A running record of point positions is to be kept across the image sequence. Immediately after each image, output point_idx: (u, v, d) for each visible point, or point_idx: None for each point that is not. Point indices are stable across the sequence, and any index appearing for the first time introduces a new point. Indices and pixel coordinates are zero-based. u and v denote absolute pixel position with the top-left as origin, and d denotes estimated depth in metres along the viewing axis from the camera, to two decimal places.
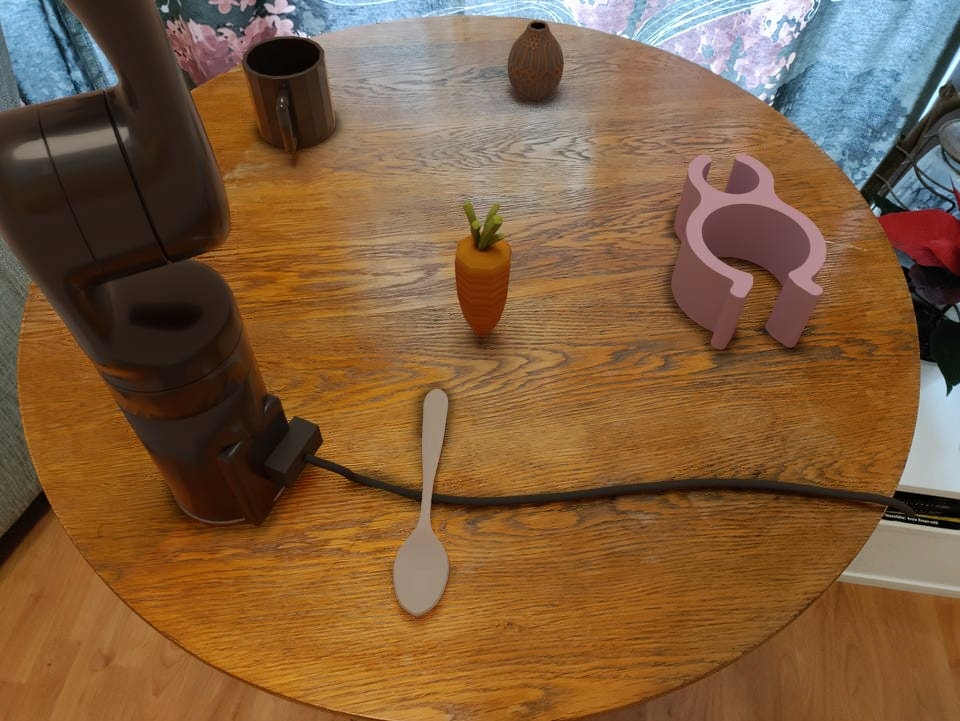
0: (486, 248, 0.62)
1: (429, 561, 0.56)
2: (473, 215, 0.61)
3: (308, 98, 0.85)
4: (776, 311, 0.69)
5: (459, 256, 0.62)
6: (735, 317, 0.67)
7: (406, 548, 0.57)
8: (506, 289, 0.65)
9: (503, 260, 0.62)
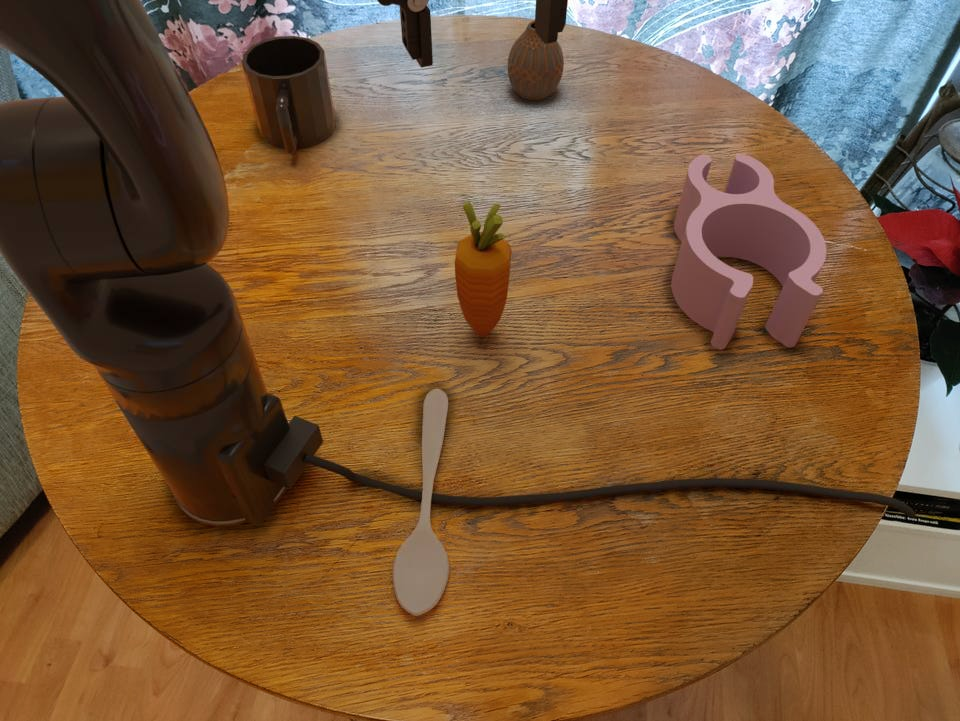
0: (486, 248, 0.62)
1: (429, 561, 0.56)
2: (473, 215, 0.61)
3: (308, 98, 0.85)
4: (776, 311, 0.69)
5: (459, 256, 0.62)
6: (735, 317, 0.67)
7: (405, 548, 0.57)
8: (506, 289, 0.65)
9: (503, 260, 0.62)
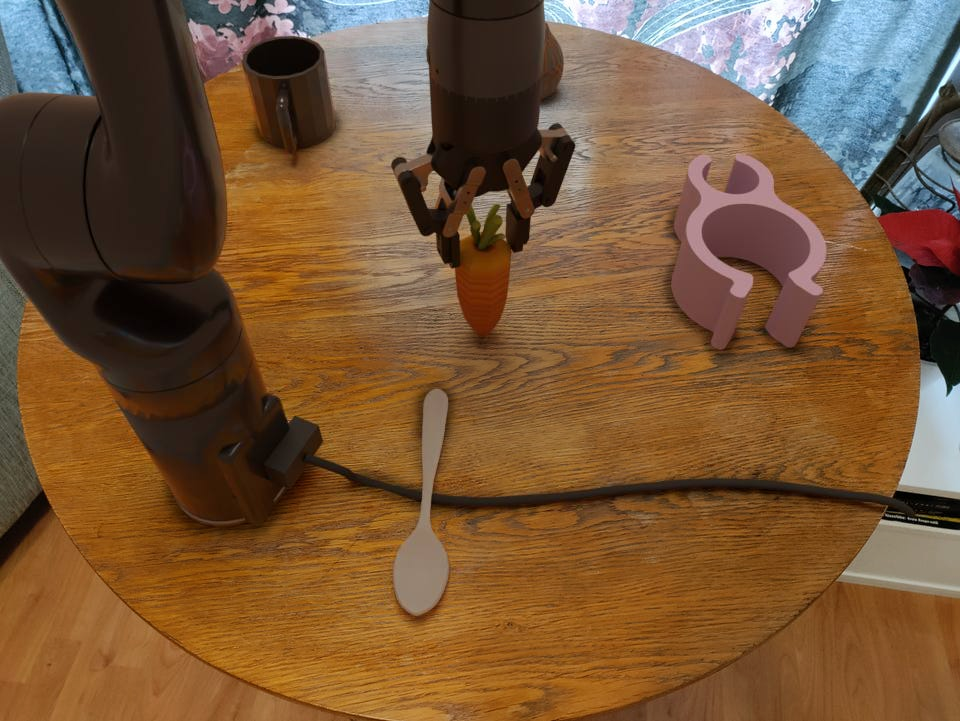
0: (486, 248, 0.62)
1: (429, 561, 0.56)
2: (473, 215, 0.61)
3: (308, 98, 0.85)
4: (776, 311, 0.69)
5: None
6: (735, 317, 0.67)
7: (405, 548, 0.57)
8: (506, 289, 0.65)
9: (503, 260, 0.62)
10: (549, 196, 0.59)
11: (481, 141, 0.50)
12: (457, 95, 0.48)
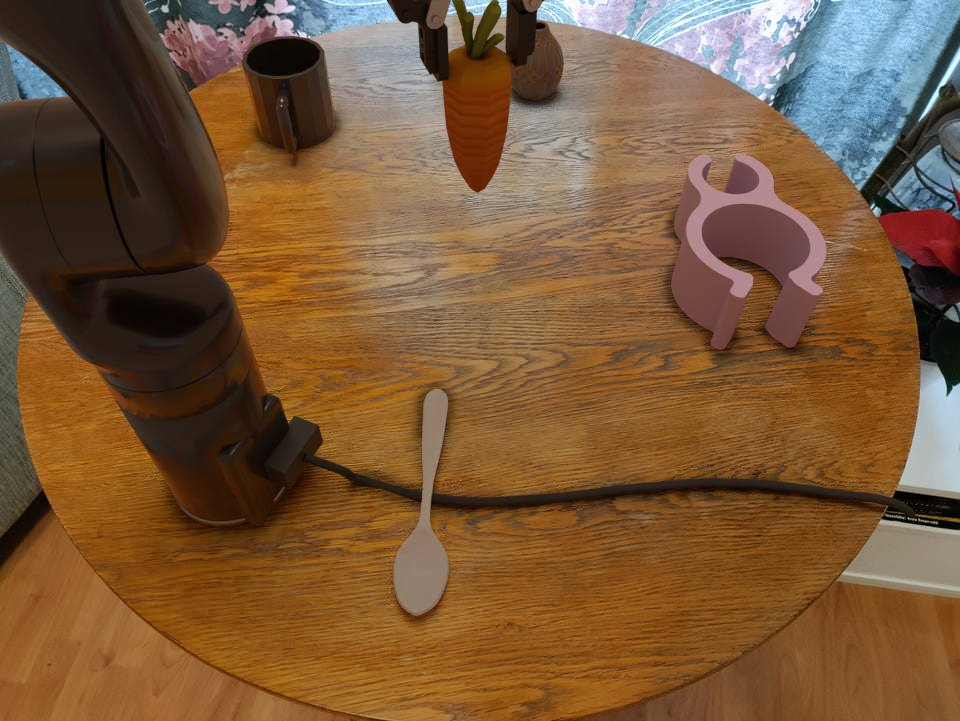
0: (481, 58, 0.50)
1: (429, 561, 0.56)
2: (465, 12, 0.49)
3: (308, 98, 0.85)
4: (776, 311, 0.69)
5: None
6: (735, 317, 0.67)
7: (405, 548, 0.57)
8: (506, 117, 0.53)
9: (503, 72, 0.50)
10: None
11: None
12: None
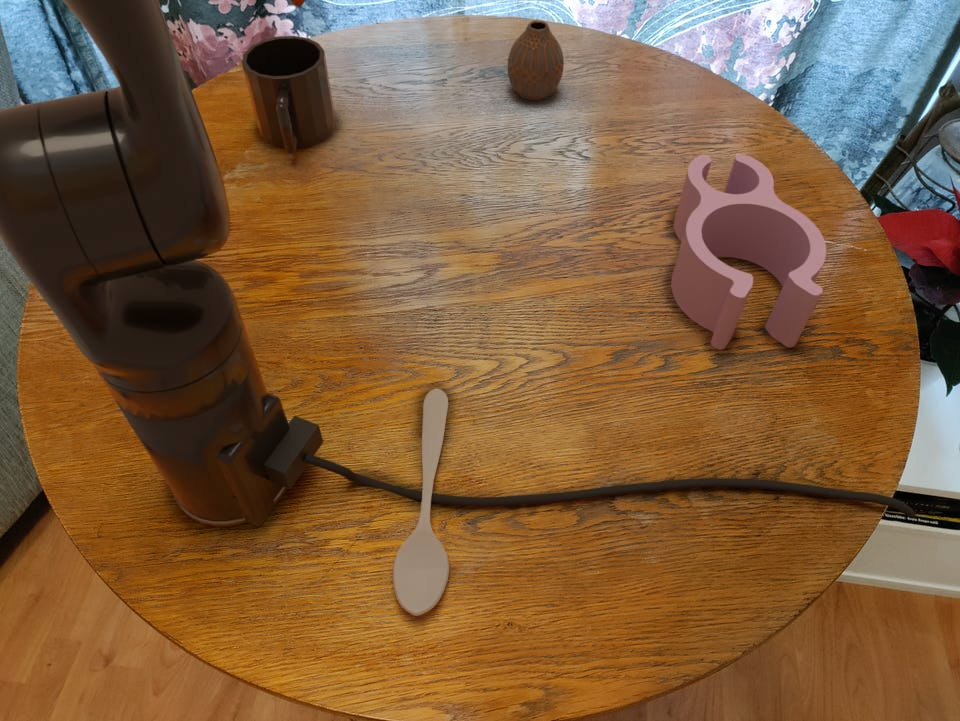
0: None
1: (429, 561, 0.56)
2: None
3: (308, 98, 0.85)
4: (776, 311, 0.69)
5: None
6: (735, 317, 0.67)
7: (405, 548, 0.57)
8: None
9: None
10: None
11: None
12: None
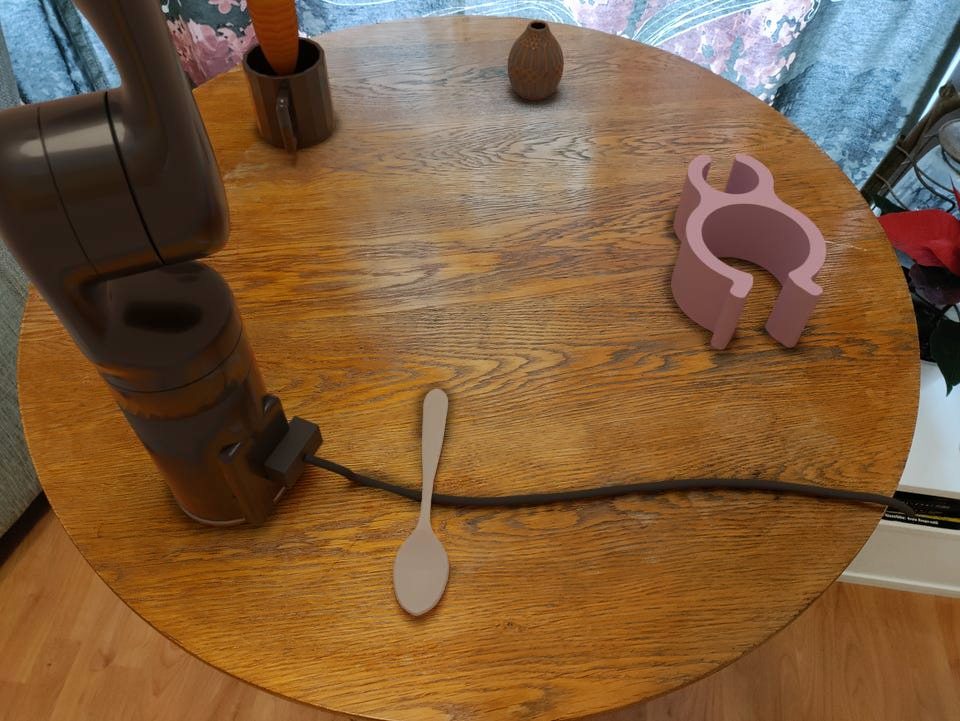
0: None
1: (429, 561, 0.56)
2: None
3: (308, 98, 0.85)
4: (776, 311, 0.69)
5: None
6: (735, 317, 0.67)
7: (405, 548, 0.57)
8: (291, 25, 0.81)
9: None
10: None
11: None
12: None
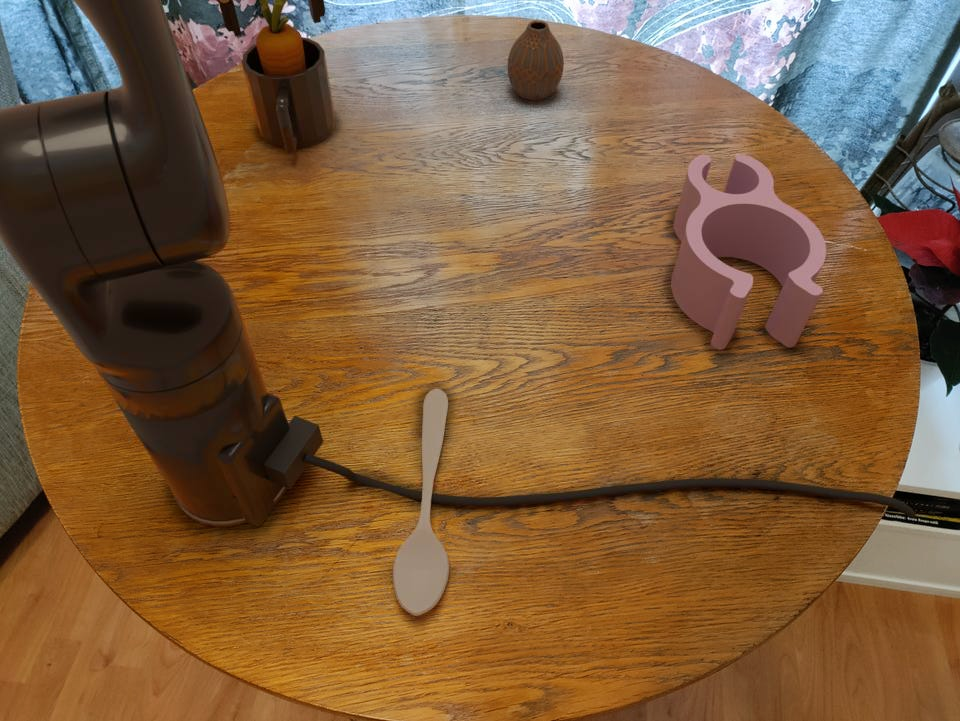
0: (278, 32, 0.82)
1: (429, 561, 0.56)
2: (266, 4, 0.81)
3: (308, 98, 0.85)
4: (776, 311, 0.69)
5: (258, 38, 0.82)
6: (735, 317, 0.67)
7: (405, 548, 0.57)
8: (300, 69, 0.85)
9: (291, 40, 0.82)
10: None
11: None
12: None
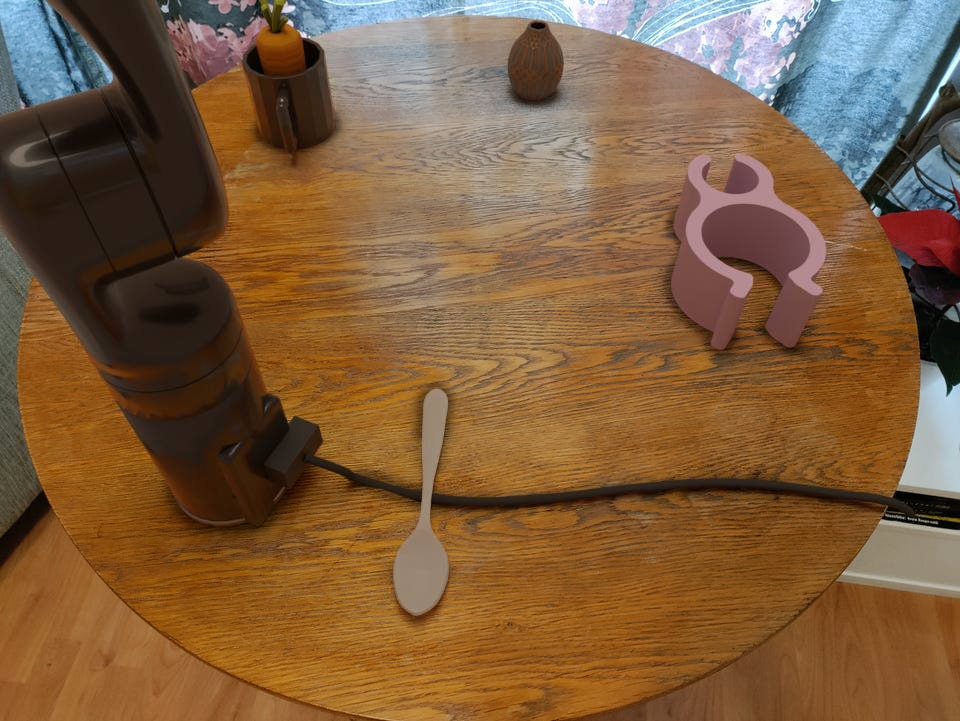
0: (278, 32, 0.82)
1: (429, 561, 0.56)
2: (266, 4, 0.81)
3: (308, 98, 0.85)
4: (776, 311, 0.69)
5: (258, 38, 0.82)
6: (735, 317, 0.67)
7: (405, 548, 0.57)
8: (300, 69, 0.85)
9: (291, 40, 0.82)
10: None
11: None
12: None
